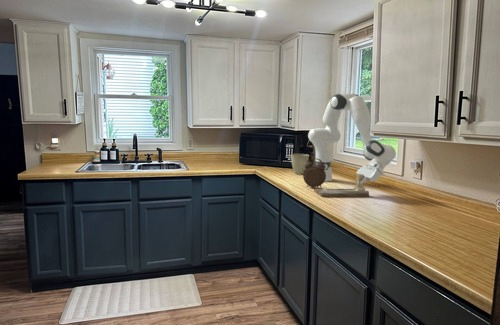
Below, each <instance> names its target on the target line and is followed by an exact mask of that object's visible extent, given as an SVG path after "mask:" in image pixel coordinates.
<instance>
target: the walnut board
mask: <svg viewBox="0 0 500 325" xmlns="http://www.w3.org/2000/svg"><path fill="white" fill-rule="evenodd" d="M313 192H314V194H317V195H319V196H320V197H321V198H369V197H370V191H369V190H365V191H353V188H313Z"/></svg>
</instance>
